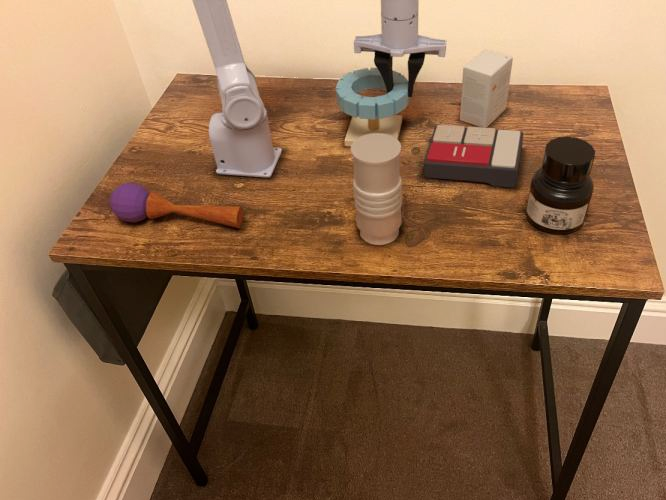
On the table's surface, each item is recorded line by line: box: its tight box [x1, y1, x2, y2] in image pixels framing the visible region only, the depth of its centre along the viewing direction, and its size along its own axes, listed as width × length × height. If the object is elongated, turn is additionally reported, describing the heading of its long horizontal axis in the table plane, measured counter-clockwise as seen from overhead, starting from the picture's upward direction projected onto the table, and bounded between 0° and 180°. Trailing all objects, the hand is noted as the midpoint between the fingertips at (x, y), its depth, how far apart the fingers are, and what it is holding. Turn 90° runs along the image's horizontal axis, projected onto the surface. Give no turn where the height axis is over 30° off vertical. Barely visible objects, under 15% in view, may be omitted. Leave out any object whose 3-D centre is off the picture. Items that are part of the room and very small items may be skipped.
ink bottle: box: [525, 136, 596, 235], centre depth 90 cm, size 10×9×12 cm
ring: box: [335, 67, 411, 120], centre depth 105 cm, size 12×12×3 cm
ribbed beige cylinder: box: [350, 133, 403, 246], centre depth 88 cm, size 7×7×15 cm
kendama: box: [109, 182, 245, 229], centre depth 94 cm, size 6×6×20 cm
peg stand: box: [343, 114, 403, 148], centre depth 109 cm, size 9×9×6 cm
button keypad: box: [423, 124, 524, 189], centre depth 103 cm, size 11×4×15 cm
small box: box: [459, 48, 514, 128], centre depth 110 cm, size 8×6×10 cm
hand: (400, 93), depth 104 cm, fingers closed on ring, 3 cm apart
